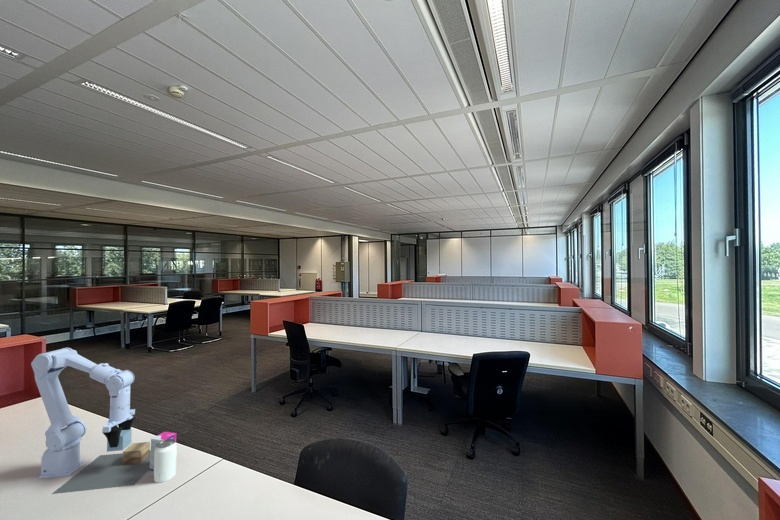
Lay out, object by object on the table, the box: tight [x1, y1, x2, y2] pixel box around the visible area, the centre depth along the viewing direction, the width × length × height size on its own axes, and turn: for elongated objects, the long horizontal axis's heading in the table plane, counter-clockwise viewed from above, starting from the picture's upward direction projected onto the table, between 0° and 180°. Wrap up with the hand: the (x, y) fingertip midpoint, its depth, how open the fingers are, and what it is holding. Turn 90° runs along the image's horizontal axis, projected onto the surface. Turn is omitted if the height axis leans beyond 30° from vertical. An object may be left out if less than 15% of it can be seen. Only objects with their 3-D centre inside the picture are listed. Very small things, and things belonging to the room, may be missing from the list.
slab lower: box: [123, 448, 151, 465], centre depth 122 cm, size 6×6×2 cm
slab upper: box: [122, 441, 151, 459], centre depth 122 cm, size 6×6×2 cm
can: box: [153, 439, 178, 483], centre depth 112 cm, size 6×6×12 cm
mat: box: [51, 452, 150, 495], centre depth 116 cm, size 24×22×1 cm
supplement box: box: [149, 431, 177, 471], centre depth 118 cm, size 6×6×12 cm
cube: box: [106, 429, 133, 453], centre depth 117 cm, size 5×5×5 cm
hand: (119, 442), depth 117 cm, fingers closed on cube, 5 cm apart
